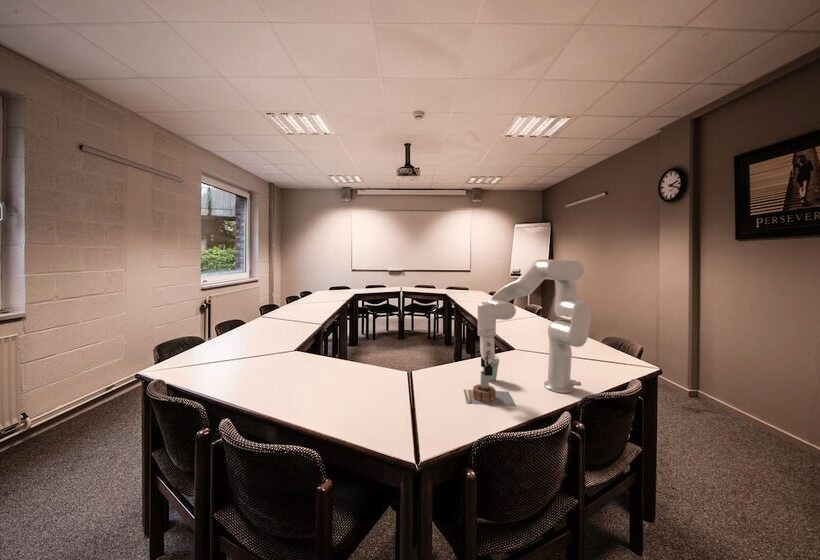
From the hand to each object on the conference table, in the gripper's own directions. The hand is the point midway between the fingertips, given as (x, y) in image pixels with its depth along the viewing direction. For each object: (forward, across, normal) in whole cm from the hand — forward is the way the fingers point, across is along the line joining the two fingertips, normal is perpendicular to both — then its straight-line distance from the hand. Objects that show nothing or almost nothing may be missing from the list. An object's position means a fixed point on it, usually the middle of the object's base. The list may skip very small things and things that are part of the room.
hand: (486, 370), depth 137 cm
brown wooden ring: (+12, 0, +1) cm, 12 cm away
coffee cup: (+13, +20, -5) cm, 25 cm away
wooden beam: (+12, 0, +1) cm, 12 cm away
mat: (+12, 0, -1) cm, 12 cm away
